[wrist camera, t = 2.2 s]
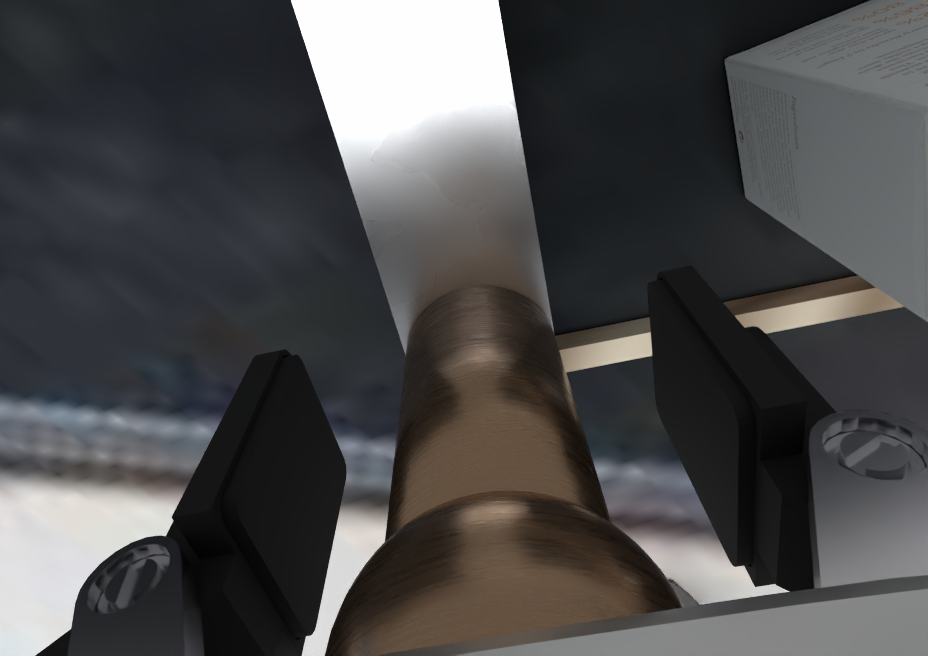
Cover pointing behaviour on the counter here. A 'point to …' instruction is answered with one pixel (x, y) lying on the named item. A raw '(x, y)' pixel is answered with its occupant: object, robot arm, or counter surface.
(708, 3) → the counter surface
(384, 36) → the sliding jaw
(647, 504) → the counter surface
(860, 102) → the small box
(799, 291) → the frame
